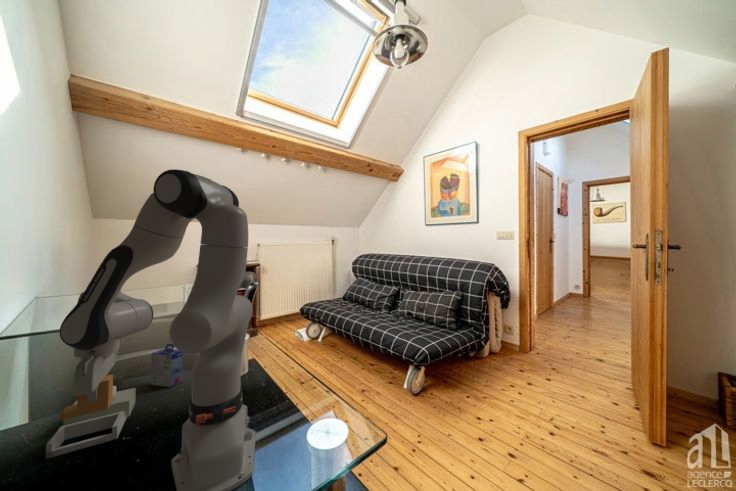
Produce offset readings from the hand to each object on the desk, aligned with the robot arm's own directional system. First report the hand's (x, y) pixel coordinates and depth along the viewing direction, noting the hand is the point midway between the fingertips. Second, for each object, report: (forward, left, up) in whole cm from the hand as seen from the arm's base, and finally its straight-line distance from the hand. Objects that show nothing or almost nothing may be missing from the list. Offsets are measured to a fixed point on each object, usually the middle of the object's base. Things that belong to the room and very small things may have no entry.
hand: (96, 395), depth 73 cm
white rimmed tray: (+6, +1, -11) cm, 13 cm away
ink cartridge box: (+27, -13, -12) cm, 32 cm away
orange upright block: (0, +2, -4) cm, 4 cm away
